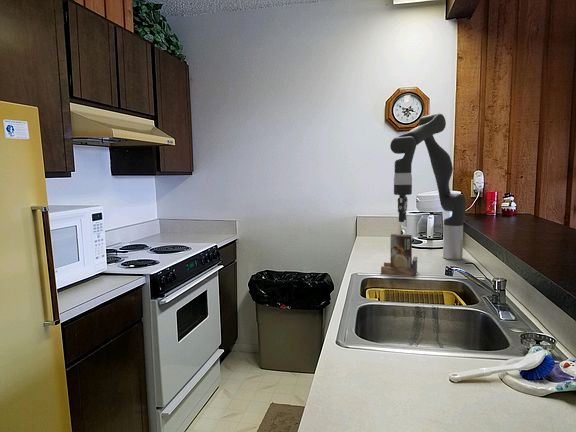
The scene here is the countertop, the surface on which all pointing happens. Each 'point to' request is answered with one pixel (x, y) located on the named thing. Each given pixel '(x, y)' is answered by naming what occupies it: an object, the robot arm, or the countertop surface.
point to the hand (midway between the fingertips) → (402, 220)
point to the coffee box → (401, 251)
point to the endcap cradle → (400, 269)
